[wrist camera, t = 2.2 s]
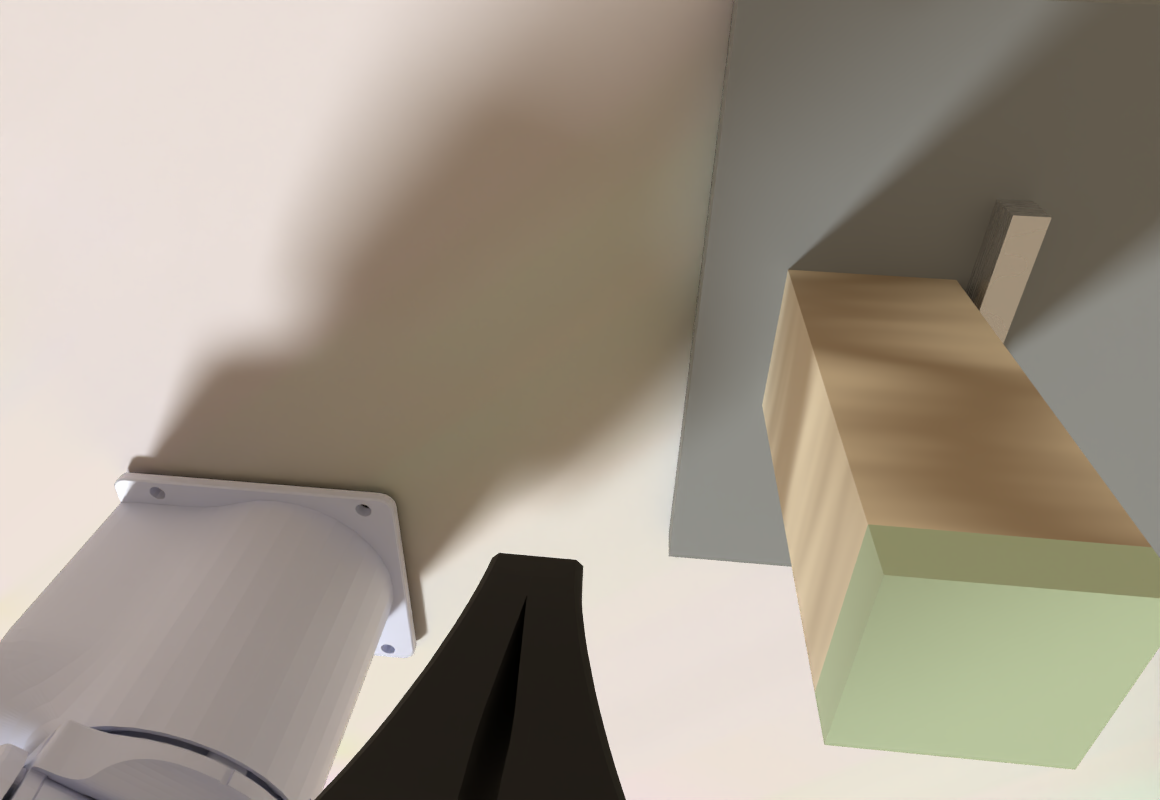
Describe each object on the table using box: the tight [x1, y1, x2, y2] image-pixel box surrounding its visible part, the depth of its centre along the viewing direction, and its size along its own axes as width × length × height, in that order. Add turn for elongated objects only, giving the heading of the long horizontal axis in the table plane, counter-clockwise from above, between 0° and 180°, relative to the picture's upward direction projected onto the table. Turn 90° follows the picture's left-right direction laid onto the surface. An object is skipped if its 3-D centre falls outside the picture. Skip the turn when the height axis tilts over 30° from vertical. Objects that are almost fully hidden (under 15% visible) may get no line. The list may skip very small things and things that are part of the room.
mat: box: [669, 0, 1160, 567], centre depth 19 cm, size 18×16×2 cm
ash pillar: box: [762, 270, 1160, 769], centre depth 16 cm, size 4×4×10 cm
